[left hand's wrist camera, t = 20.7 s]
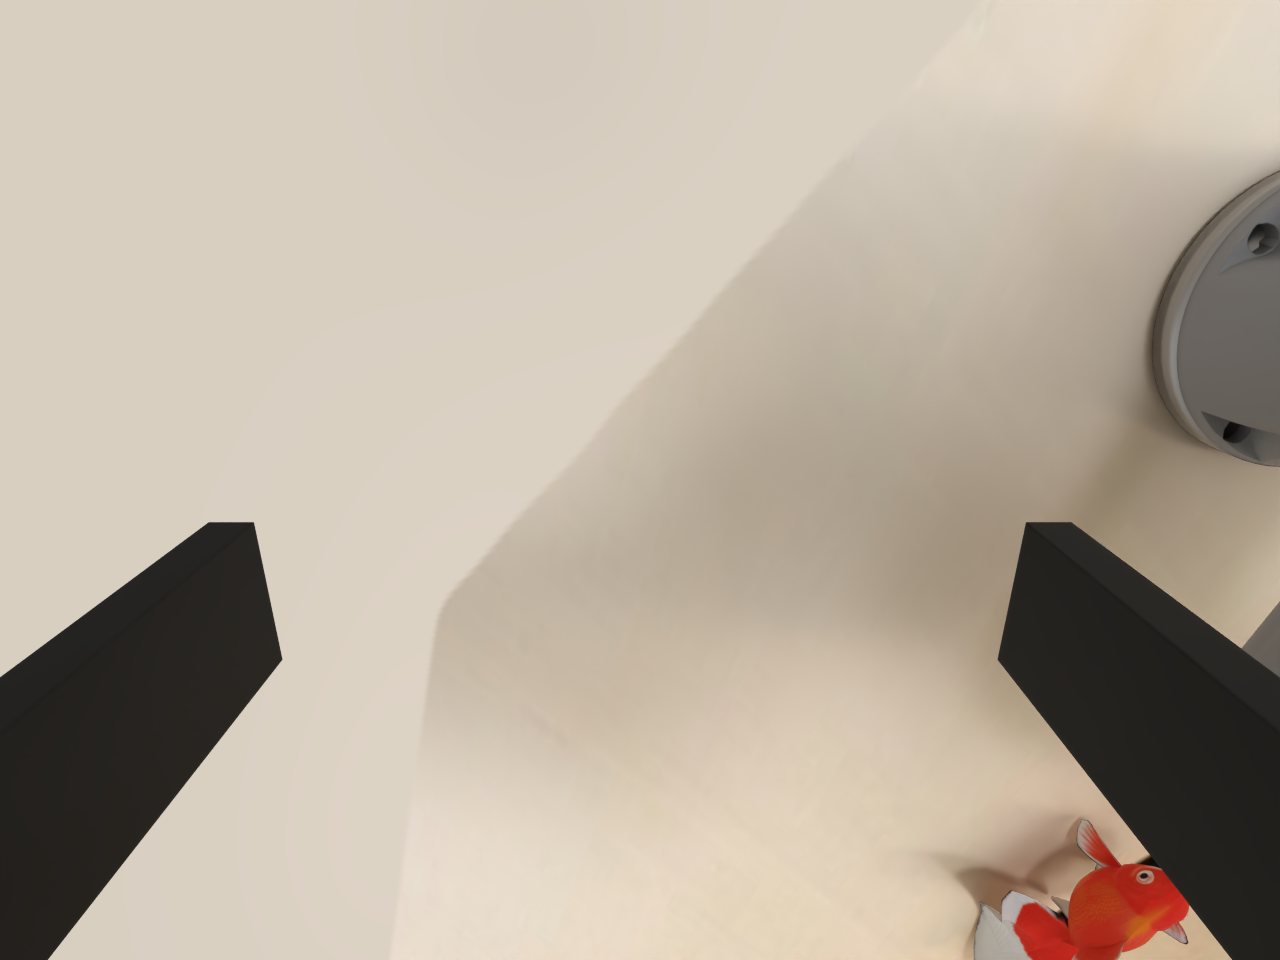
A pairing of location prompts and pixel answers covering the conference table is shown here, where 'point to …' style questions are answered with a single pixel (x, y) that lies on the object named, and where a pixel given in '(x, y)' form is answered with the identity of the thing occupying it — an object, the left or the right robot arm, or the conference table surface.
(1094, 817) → the conference table surface
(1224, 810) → the left robot arm
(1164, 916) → the fish
